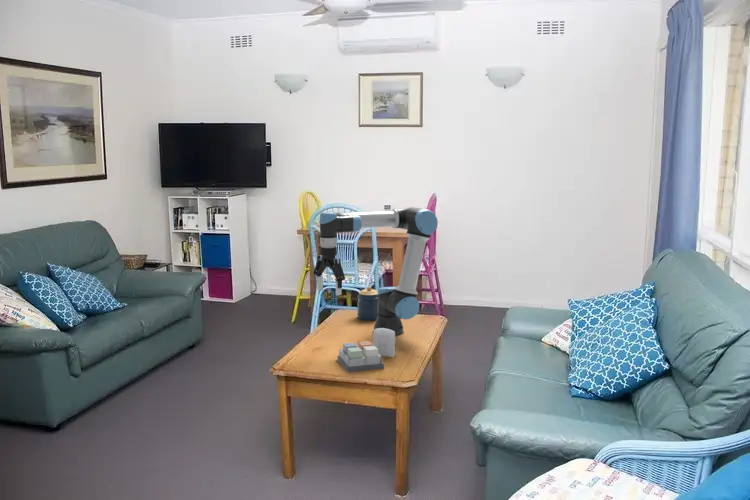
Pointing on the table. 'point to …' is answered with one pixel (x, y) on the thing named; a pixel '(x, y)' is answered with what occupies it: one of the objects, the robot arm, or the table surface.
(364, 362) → the keypad base
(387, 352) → the photo printer
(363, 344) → the key terracotta
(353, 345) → the key slate
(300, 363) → the table surface
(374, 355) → the key ivory
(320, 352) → the table surface
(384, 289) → the robot arm
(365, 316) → the canister
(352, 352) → the key sage
